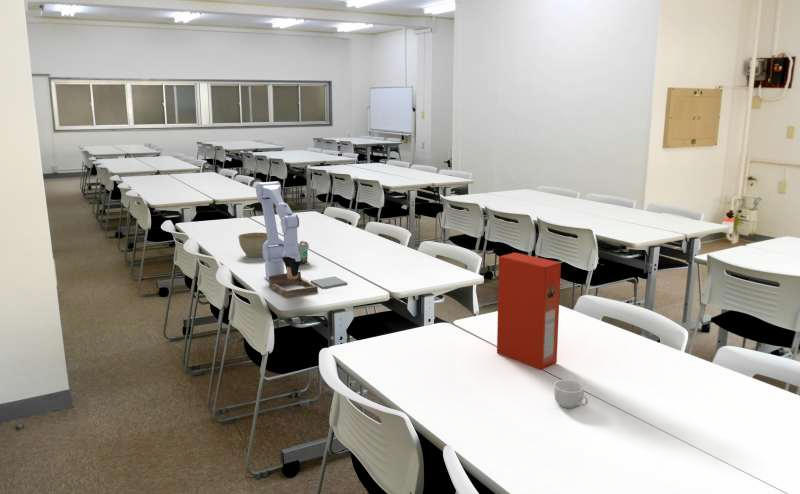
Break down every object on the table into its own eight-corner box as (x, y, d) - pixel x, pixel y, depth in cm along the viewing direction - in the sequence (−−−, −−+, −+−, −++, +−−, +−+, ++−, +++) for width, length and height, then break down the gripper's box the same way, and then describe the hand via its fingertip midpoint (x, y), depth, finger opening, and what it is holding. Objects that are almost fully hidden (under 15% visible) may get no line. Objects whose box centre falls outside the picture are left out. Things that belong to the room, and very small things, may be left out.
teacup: (546, 403, 171) (547, 384, 170) (566, 395, 176) (567, 377, 174) (576, 417, 163) (578, 398, 162) (596, 409, 168) (597, 390, 166)
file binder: (540, 370, 191) (544, 267, 184) (496, 353, 204) (498, 256, 197) (556, 363, 196) (561, 262, 189) (512, 347, 209) (515, 252, 202)
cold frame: (269, 287, 279) (268, 276, 277) (300, 281, 286) (299, 271, 285) (285, 297, 263) (285, 286, 262) (317, 292, 271) (317, 280, 270)
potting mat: (310, 282, 285) (310, 280, 285) (335, 278, 292) (334, 276, 291) (322, 288, 276) (322, 286, 275) (347, 284, 282) (347, 282, 282)
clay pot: (285, 277, 274) (284, 266, 273) (295, 275, 277) (294, 264, 276) (289, 279, 271) (289, 268, 269) (299, 278, 273) (299, 266, 272)
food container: (304, 266, 312) (303, 246, 310) (292, 266, 313) (291, 246, 311) (313, 260, 324) (312, 241, 321) (301, 260, 325) (300, 240, 323)
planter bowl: (276, 256, 333) (275, 235, 330) (246, 261, 324) (245, 240, 322) (264, 250, 346) (262, 230, 343) (235, 254, 337) (233, 234, 334)
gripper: (275, 241, 274) (277, 271, 277) (288, 247, 262) (290, 279, 265) (290, 239, 278) (292, 269, 281) (304, 245, 266) (306, 277, 269)
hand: (292, 274), depth 273 cm, fingers closed on clay pot, 5 cm apart
